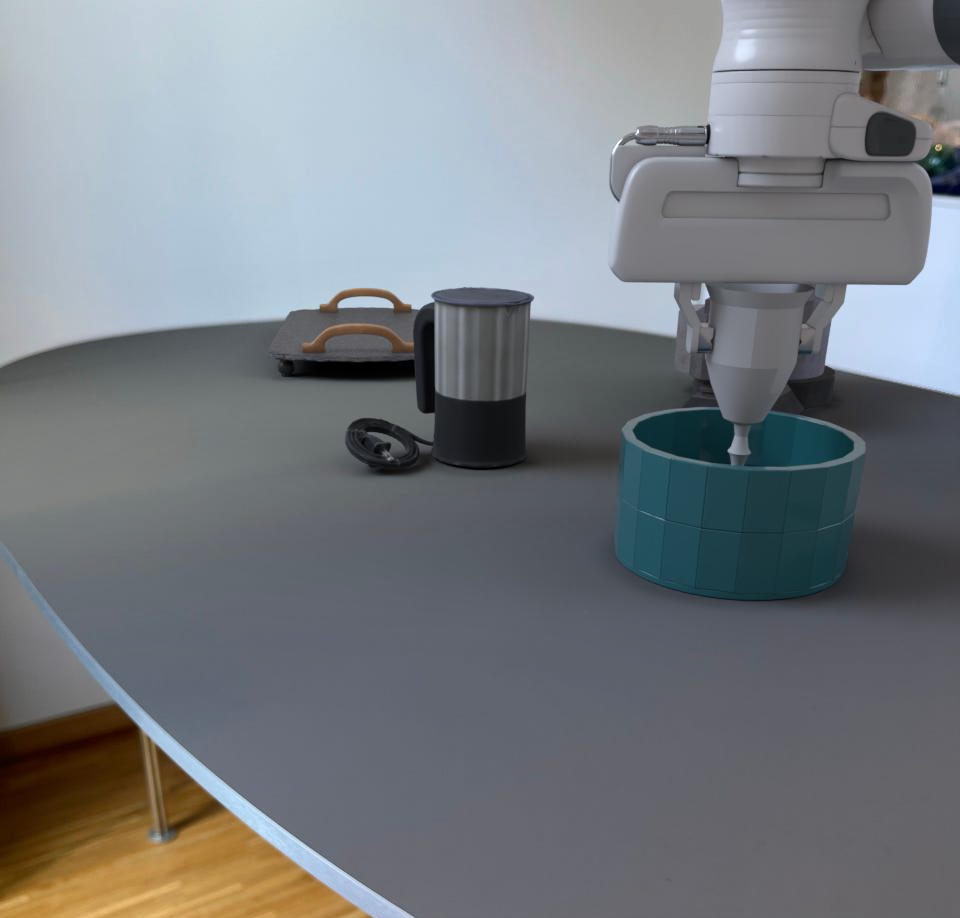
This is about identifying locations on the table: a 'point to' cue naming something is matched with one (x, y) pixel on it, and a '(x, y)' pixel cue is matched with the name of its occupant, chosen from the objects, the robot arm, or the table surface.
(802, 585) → the pot
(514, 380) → the milk frother
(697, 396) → the juicer
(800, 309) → the chalice
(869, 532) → the table surface
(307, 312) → the serving tray
